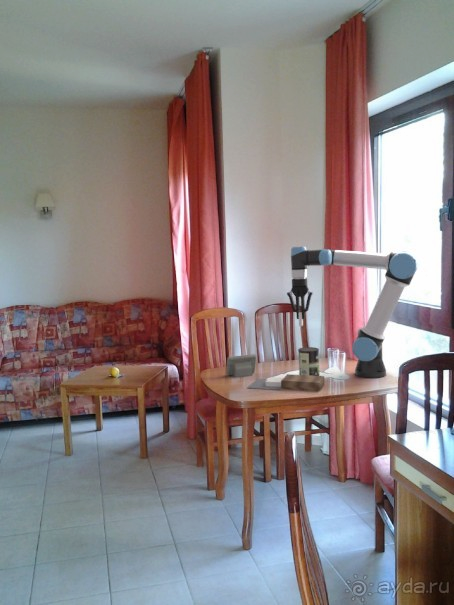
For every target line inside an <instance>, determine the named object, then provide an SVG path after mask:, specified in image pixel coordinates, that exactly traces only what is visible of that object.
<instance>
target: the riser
mask: <svg viewBox="0 0 454 605" xmlns="http://www.w3.org/2000/svg"><path fill="white" fill-rule="evenodd" d="M282 378H283V379H282V380H281V390H289V391H290V390H293V391H294V390H295V391H308V392H309V391H311V392H321V390H322V389H323V388H324V386H325V375H319V376H312V375H299V374H292V373H291V374H289V373H288V374H286V375H285V376H284V377H282Z"/></svg>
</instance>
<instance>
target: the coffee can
mask: <svg viewBox="0 0 454 605" xmlns="http://www.w3.org/2000/svg"><path fill="white" fill-rule="evenodd" d="M297 351H298V372H299V373H298V375H312V376H320V356H319V355H320V354H319V353H320V348H318V347H311V346H310V347H309V346H308V347H307V346H306V347H299V348H298V350H297Z"/></svg>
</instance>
